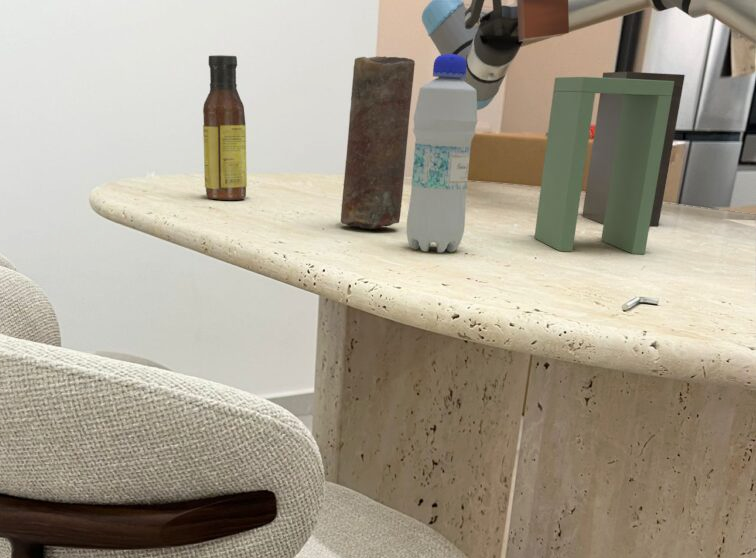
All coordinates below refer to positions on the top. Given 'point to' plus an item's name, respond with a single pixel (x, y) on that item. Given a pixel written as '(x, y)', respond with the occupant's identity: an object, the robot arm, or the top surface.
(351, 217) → the rusty brown cylinder
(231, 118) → the sauce bottle
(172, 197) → the top surface
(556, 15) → the brown box
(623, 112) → the green arch
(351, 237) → the top surface
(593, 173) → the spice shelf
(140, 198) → the top surface
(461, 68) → the bottle
